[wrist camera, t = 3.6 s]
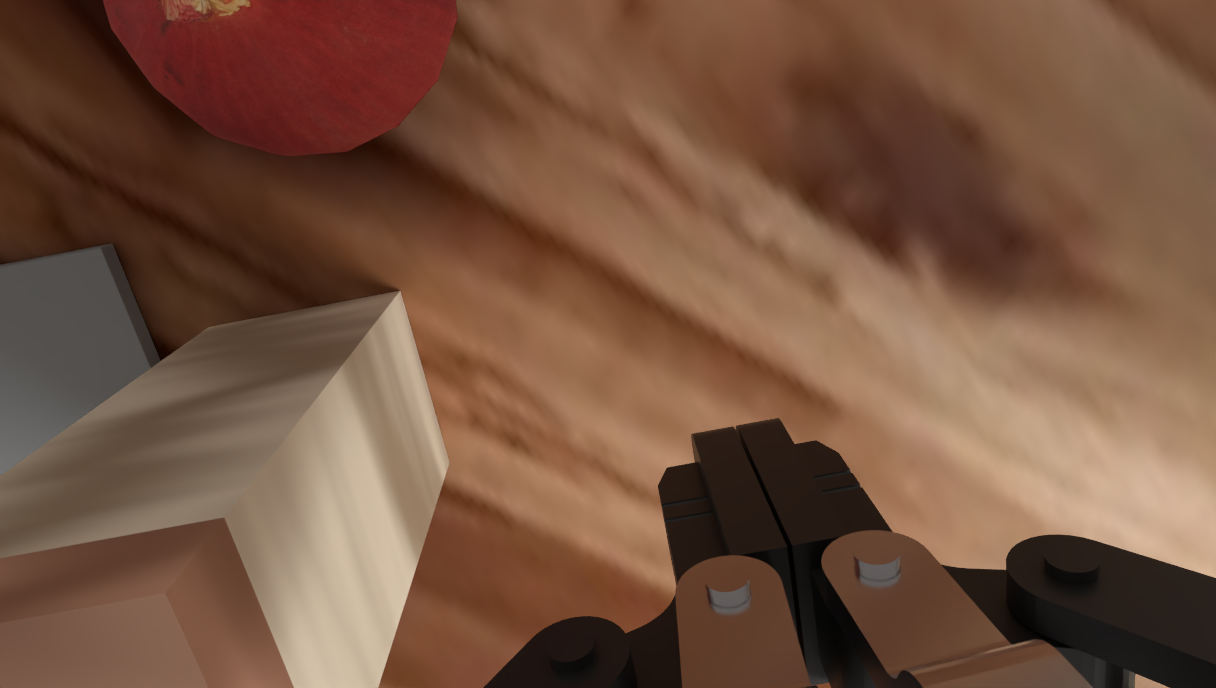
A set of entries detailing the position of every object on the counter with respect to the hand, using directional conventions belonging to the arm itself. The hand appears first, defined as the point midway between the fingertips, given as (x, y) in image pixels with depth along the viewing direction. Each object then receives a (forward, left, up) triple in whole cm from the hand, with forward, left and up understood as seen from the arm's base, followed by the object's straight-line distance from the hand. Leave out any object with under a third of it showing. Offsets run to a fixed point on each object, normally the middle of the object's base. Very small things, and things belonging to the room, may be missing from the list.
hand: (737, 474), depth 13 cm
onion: (+6, -9, -8) cm, 13 cm away
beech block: (+9, 0, -8) cm, 12 cm away
